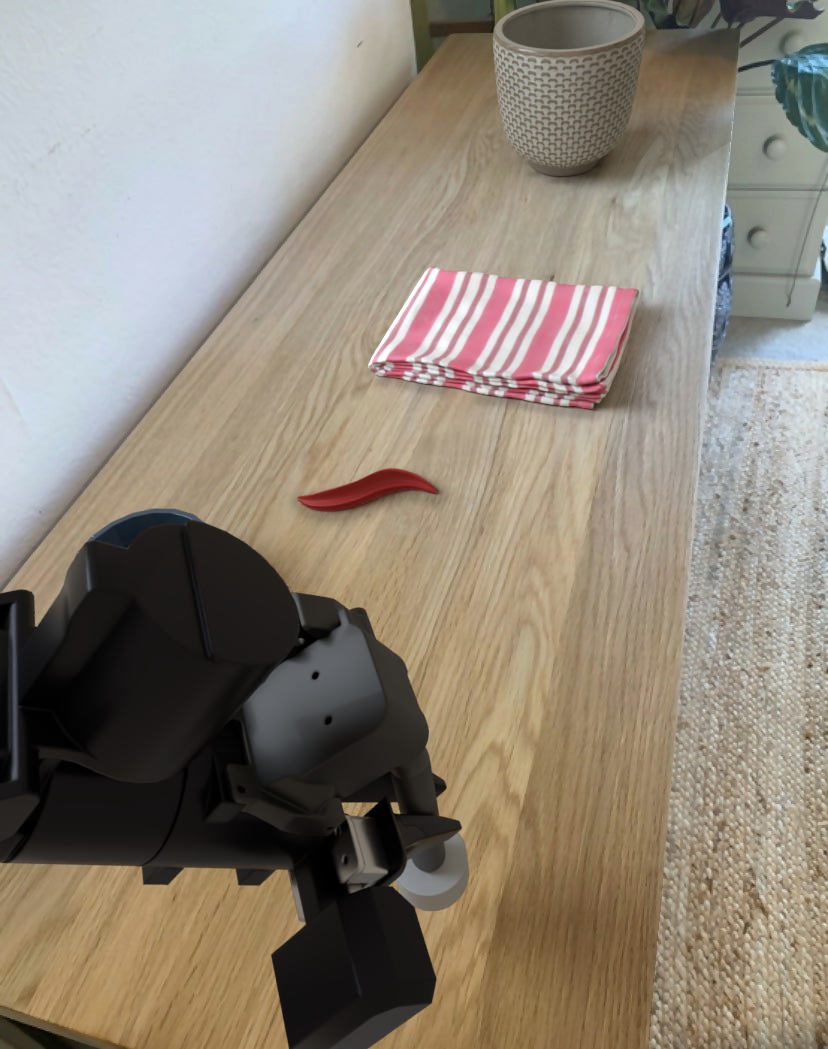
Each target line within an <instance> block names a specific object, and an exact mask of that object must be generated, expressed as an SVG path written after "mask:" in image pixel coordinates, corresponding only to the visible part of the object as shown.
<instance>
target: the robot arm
mask: <svg viewBox="0 0 828 1049" xmlns="http://www.w3.org/2000/svg"><path fill="white" fill-rule="evenodd" d="M203 522H204V521H203ZM203 522H199V521H195V520H188V521H187V522H186V523H164V524H159V525H154V526H151V527H149V528H147V529H146V530H144V531H142V532H140V533H139V534H138V535H137V536H136V537H135V539H134V540H133V541H132V543H131V544H130V545H129V547H128V548H123V547H120V546H116V545H112V544H108V543H104V542H101V541H97V540H93V541H89V542H87V541H85V542H84V543H83V544H82V546H81V548H80V549H79V550H80V551H79V550H78V551H79V552H78V551H77V553H78V554H77V553H76V554H77V555H76V554H75V556H76V557H75V556H74V558H73V560H72V562H71V563H70V565H69V566H68V569H67V570H66V573H65V578H64V582H63V585H62V588H61V589H60V592H59V593H58V594H57V596H56V597H55V599H54V600H53V602H52V603H51V605H50V607H49V608H48V609H47V611H46V612H45V613H44V615H43V617H42V619H41V620H40V621H39V623H38V624H37V626H36V614H35V613H36V609H35V608H36V607H35V606H36V605H35V604H36V603H35V595H34V593H33V592H32V591H30V590H28V589H22V588H21V589H15V590H10V591H4V592H0V864H19V865H22V864H23V865H60V866H61V865H65V866H101V867H103V866H105V867H106V866H108V867H109V866H110V867H111V866H112V867H115V866H116V867H139V868H141V874H142V884H143V885H144V886H169V885H170V884H171V883H172V881H173V880H175V878H176V877H177V876H179V874H180V873H181V872H183V870H184V869H185V868H186V869H226V870H229V869H230V870H235V874H236V879H237V880H236V881H237V885H238V886H243V887H244V886H245V887H246V886H249V887H253V886H254V887H255V886H256V887H259V886H261V885H262V884H263V883H264V882H265V881H267V880H268V878H270V877H271V876H272V875H273V874H274V873H275V872H276V871H287V873H288V878H289V883H290V886H291V887H290V888H291V891H292V896H293V901H294V907H295V910H296V916H297V919H298V921H299V922H300V923H305V925H304V926H302V927H301V928H300V929H299V930H298V931H296V932H295V933H294V934H293V935H292V936H290V937H289V938H288V939H287V940H286V941H285V942H284V943H283V944H281V946H279V947H278V948H277V949H276V950H275V951H273V952H272V953H271V954H270V957H271V962H272V967H273V974H274V978H275V983H276V989H277V993H278V999H279V1005H280V1010H281V1015H282V1021H283V1026H284V1030H285V1035H286V1036H285V1037H286V1041H287V1047H288V1049H370V1048H372V1047H373V1046H374V1045H376V1044H377V1043H378V1042H380V1041H381V1040H383V1039H384V1038H385V1037H387V1036H388V1035H390V1034H391V1033H393V1032H394V1031H395V1030H397V1029H398V1028H399V1027H401V1026H403V1024H405V1023H406V1022H408V1021H409V1020H410V1019H412V1018H413V1017H415V1016H416V1015H419V1013H421V1011H423V1010H425V1009H427V1008H428V1007H429V1006H430V1005H432V1004H433V1000H434V996H435V990H436V985H437V981H438V979H437V976H436V973H435V970H434V965H433V963H432V960H431V956H430V953H429V950H428V947H427V942H426V939H425V936H424V934H423V930H422V927H421V924H420V920H419V918H418V914H417V911H416V907H414V906H413V905H412V904H411V903H410V902H409V901H407V900H406V899H405V898H404V897H403V896H402V895H401V893H400V891H399V890H398V889H396V888H395V887H394V886H393V885H392V884H393V883H394V882H396V880H397V879H398V878H399V877H400V876H401V875H402V873H403V872H404V870H405V867H406V864H407V860H409V859H411V858H413V857H415V856H417V855H419V854H421V853H423V852H425V851H427V850H429V849H431V848H433V847H435V846H437V845H439V844H441V843H443V842H445V841H447V840H449V839H450V838H452V837H453V836H454V835H455V834H457V833H459V832H461V831H462V828H463V826H462V823H461V822H460V820H459V819H455V818H452V817H447V816H444V815H439V816H431V815H413V814H400V813H396V812H394V810H393V807H392V803H394V804H395V803H397V804H398V802H397V798H396V794H395V790H394V786H393V782H392V778H391V774H390V771H391V770H392V769H394V768H396V767H398V766H401V765H406V764H408V763H409V762H411V761H413V760H414V759H415V758H417V757H418V756H419V755H420V754H421V753H422V752H423V750H424V749H425V747H426V748H427V745H428V741H429V739H430V738H429V737H430V727H429V724H428V721H427V718H426V716H425V714H424V712H423V711H422V709H421V707H420V704H419V701H418V699H417V697H416V694H415V691H414V689H413V688H414V687H413V686H412V683H411V680H410V678H409V674H408V673H409V671H408V668H407V667H408V666H407V664H406V662H405V661H404V659H403V658H402V657H401V656H400V655H398V654H397V653H396V652H395V651H393V650H392V649H390V647H388V646H386V644H385V643H383V642H381V641H380V640H378V639H377V637H376V634H375V632H374V629H373V625H372V623H371V620H370V618H369V615H368V612H367V610H366V608H363V607H361V606H360V607H359V606H356V607H352V608H350V609H349V608H348V607H347V606H345V605H344V604H342V603H341V602H340V601H338V600H337V599H335V598H333V597H328V596H322V595H316V594H309V593H304V592H297V591H294V592H292V591H291V590H290V588H289V585H288V584H287V583H286V582H285V580H284V579H283V578H282V576H281V575H280V574H279V572H278V571H277V570H276V568H275V567H274V566H273V565H272V564H271V563H270V562H269V561H268V560H267V559H266V558H265V557H264V556H263V555H262V554H261V553H260V552H258V551H257V550H255V549H254V548H253V547H252V546H250V545H249V544H248V543H246V542H245V541H244V540H242V539H240V538H238V537H236V536H235V535H233V534H232V533H230V532H228V531H226V530H224V529H221V528H219V527H216V526H214V525H211V524H210V523H207V522H205V523H203ZM432 774H433V780H434V786H435V792H436V798H438V797H439V796H441V795H442V794H443V793H444V792H446V790H447V789H448V786H447V783H446V781H445V779H443V778H441V777H440V776H439V775H437V774H436V773H434V772H432ZM350 803H351V804H357V803H358V804H361V803H362V804H365V803H367V804H368V803H371V804H374V803H375V805H373V807H371V808H370V809H369V810H368V811H367V812H366V813H365V814H364V815H363V816H362V815H361V816H360V815H350V814H349V813H346V812H345V810H344V806H343V804H350Z"/></svg>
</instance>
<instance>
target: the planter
mask: <svg viewBox="0 0 828 1049" xmlns="http://www.w3.org/2000/svg"><path fill="white" fill-rule="evenodd" d="M492 33H493V34H492V47H493V48H492V49H493V52H492V53H493V63H494V72H495V73H494V74H495V86H496V95H497V102H498V103H497V104H498V110H499V117H500V122H501V127H502V131H503V134H504V137H505V139H506V142H507V144H508V145H509V147H510V148H511V149H512V150H513V151H514V152H515V154H517V155H518V156H519V157H521V158H522V159H523V160H526V161H527V162H528V164H529V166H530V167H531V168H532V169H533V170H535V171H536V172H537V173H539V174H542V175H546V176H550V177H571V176H576V175H580V174H583V173H586V172H588V171H590V170H592V169H593V168H594V167H595V166H596V165H597V164H598V162H600V159H601V158H603V157H604V156H606V155H608V154H609V153H610V152H612V151H613V150H614V149H615V148H616V147H617V146H618V145H619V144H620V142H621V141H622V139H623V138H624V136H625V133H626V131H627V128H628V125H629V123H630V120H631V116H632V112H633V107H634V103H635V97H636V94H637V89H638V83H639V78H640V72H641V66H642V59H643V52H644V45H645V39H646V37H645V36H646V19H645V17H644V15H643V14H642V13H641V12H640V11H639V10H638V9H636V8H635V7H634V6H631V5H629V4H626V3H623V2H620V1H615V0H545V1H542V2H536V3H532V4H529V5H526V6H523V7H520V8H517V9H515V10H513V11H510V12H509V13H507V14H506V15H503V17H502V18H500V19H499V20H498V21H497V22H496V24H494V28H493V32H492Z"/></svg>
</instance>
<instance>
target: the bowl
mask: <svg viewBox="0 0 828 1049" xmlns="http://www.w3.org/2000/svg"><path fill="white" fill-rule="evenodd" d="M188 520H195V521H199V522H203V523H206V521H203V520H202V519H201V518H199V517H198V516H197V515H195V514H193V513H192V512H189V511H184V510H182V509H178V508H163V507H162V508H161V507H160V508H158V507H157V508H155V507H154V508H148V509H144V510H140V511H135V512H132V513H129V514H127V515H124V516H121V517H120V518H118V519H115V520H113V521H110V522H109V523H108V524H106V525H105V526H104V527H102V528H100V529H99V530H97V531H96V532H95V533H94V534H92V535H91V536H90V537H89V538H88V539H87V540H86V542H89V541H93V540H97V541H101V542H104V543H108V544H112V545H116V546H120V547H123V548H128V547H129V545H130V544H131V543H132V541H133V540H134V539H135V537H136V536H137V535H138V534H139V533H140V532H142V531H144V530H146V529H147V528H149V527H151V526H154V525H159V524H164V523H186V522H187V521H188ZM79 551H80V549H79V550H77V553H76V554H75V556H74V558H75V557H76V555H77V554H78V552H79Z"/></svg>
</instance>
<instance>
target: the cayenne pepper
mask: <svg viewBox="0 0 828 1049" xmlns="http://www.w3.org/2000/svg"><path fill="white" fill-rule="evenodd" d="M406 490H407V491H409V490H416V491H422V492H426V493H430V494H436V495H437V494H438V492H437V489H436V488H435V486H434V485H433V484H432V483H431V482H430V481H428V480H426V478H424V477H422V476H420V475H419V474H416V473H414V472H412V471H408V470H406V469H401V468H396V467H388V468H383V469H380V470H377V471H374V472H372V473H370V474H367V475H366V476H364V477H361V478H359V479H357V480H355V481H352V482H350V483H345V484H343V485H339V486H337V487H333V488H328V489H325V490H322V491H319V492H315V493H312V494H305V495H299V496H297V500H298V502H299V503H301V505H303V506H305V507H307V508H309V509H311V510H315V511H322V512H337V511H343V510H347V509H351V508H355V507H358V506H362V505H364V504H366V503H368V502H371V501H373V500H375V499H378V498H381V497H383V496H386V495H389V494H392V493H395V492H400V491H406Z"/></svg>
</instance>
